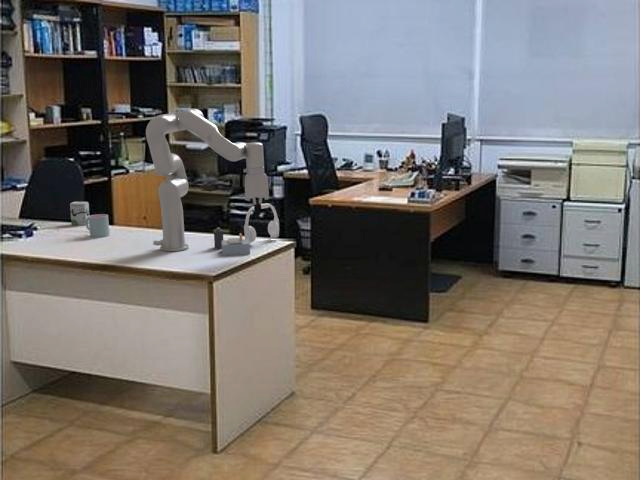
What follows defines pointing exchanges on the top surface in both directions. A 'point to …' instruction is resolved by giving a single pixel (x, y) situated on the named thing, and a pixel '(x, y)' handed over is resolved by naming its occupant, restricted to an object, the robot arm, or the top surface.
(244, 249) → the socket
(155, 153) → the robot arm
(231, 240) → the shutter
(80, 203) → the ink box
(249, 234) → the headset
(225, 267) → the top surface
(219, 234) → the plug
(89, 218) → the mug
